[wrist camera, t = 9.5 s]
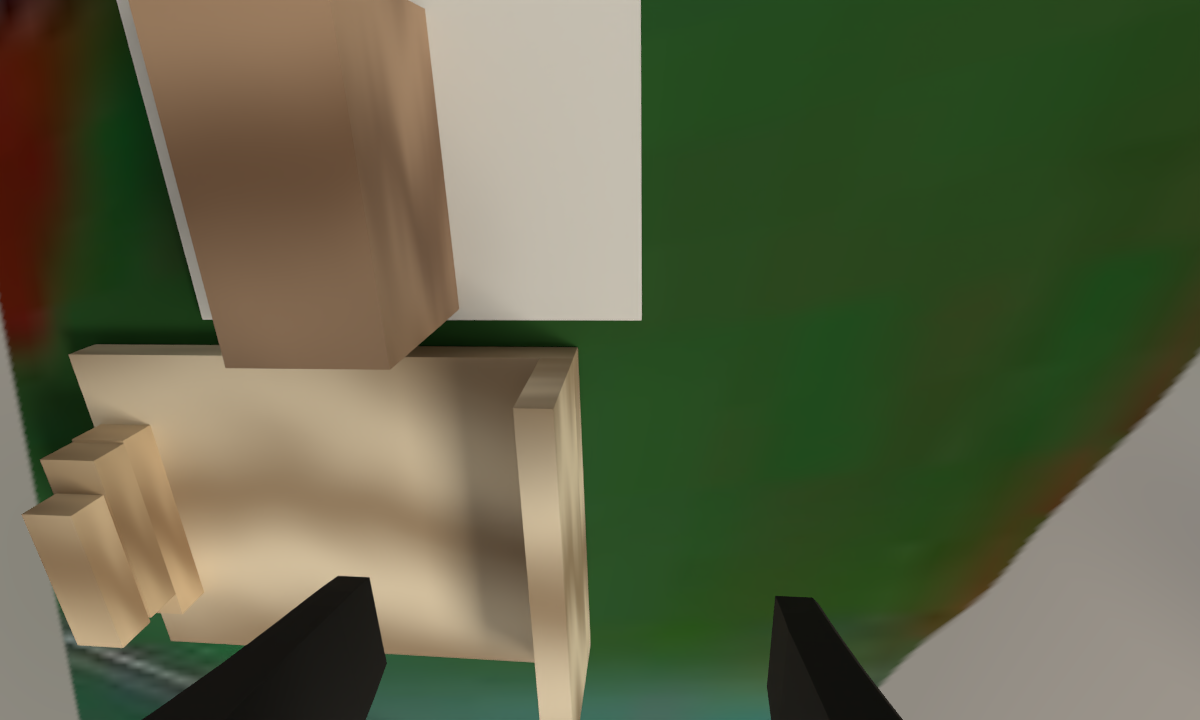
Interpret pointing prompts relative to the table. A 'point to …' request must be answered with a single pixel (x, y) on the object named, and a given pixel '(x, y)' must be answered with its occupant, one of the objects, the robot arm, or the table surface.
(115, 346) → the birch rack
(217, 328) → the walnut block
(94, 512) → the offcut stack
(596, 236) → the grey mat
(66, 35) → the table surface
